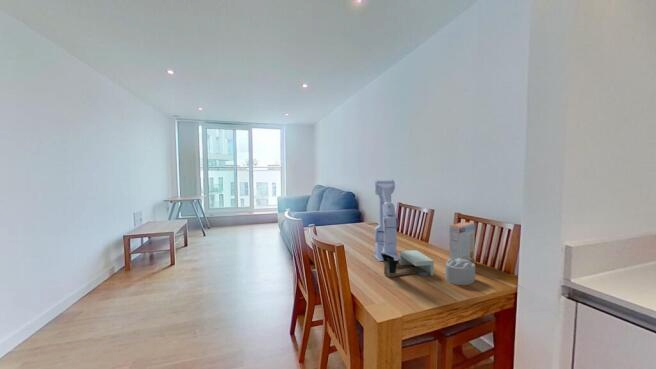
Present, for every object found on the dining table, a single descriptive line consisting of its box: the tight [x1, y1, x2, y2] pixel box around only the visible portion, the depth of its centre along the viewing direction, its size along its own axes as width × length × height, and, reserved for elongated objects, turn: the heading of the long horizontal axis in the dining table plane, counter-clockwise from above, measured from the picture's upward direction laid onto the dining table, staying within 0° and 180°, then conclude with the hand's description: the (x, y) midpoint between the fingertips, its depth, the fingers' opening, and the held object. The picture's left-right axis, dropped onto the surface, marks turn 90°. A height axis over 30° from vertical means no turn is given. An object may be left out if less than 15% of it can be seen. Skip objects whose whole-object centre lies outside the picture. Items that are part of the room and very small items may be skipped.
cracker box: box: [449, 221, 476, 263], centre depth 135 cm, size 14×6×21 cm, turn 122°
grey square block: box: [415, 269, 429, 277], centre depth 122 cm, size 4×4×2 cm
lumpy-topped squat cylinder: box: [445, 257, 476, 286], centre depth 115 cm, size 10×13×9 cm
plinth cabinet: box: [399, 249, 435, 276], centre depth 127 cm, size 16×9×7 cm, turn 10°
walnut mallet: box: [383, 261, 422, 278], centre depth 123 cm, size 4×20×6 cm, turn 109°
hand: (390, 270), depth 120 cm, fingers closed on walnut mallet, 4 cm apart
